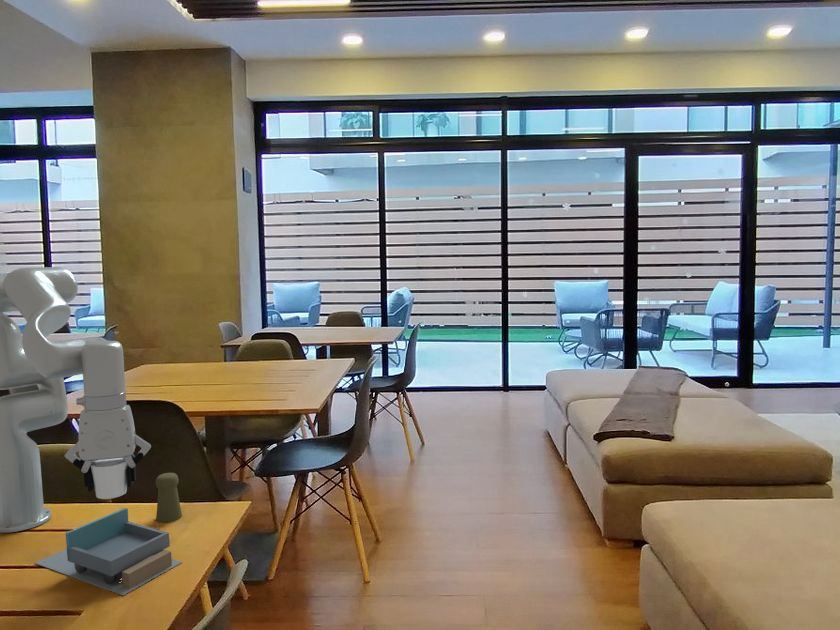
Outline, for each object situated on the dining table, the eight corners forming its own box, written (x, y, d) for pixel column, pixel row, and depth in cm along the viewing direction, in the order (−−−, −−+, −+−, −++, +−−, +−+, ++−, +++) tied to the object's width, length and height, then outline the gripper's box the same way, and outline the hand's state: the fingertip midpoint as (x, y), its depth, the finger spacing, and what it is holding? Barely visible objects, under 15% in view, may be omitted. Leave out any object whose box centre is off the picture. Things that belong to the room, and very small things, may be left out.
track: (35, 563, 130) (33, 549, 129) (96, 536, 142) (95, 523, 142) (123, 595, 117) (122, 579, 116) (182, 562, 129) (181, 548, 129)
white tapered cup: (114, 501, 123) (112, 467, 122) (84, 499, 124) (82, 465, 123) (137, 488, 129) (135, 456, 129) (108, 486, 131) (106, 454, 130)
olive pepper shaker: (176, 522, 149) (174, 478, 148) (151, 522, 149) (149, 478, 148) (186, 512, 155) (183, 469, 154) (162, 512, 155) (160, 470, 154)
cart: (68, 572, 125) (65, 532, 124) (127, 544, 137) (125, 507, 136) (112, 588, 118) (109, 546, 118) (170, 557, 130) (168, 519, 130)
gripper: (52, 410, 119) (58, 499, 120) (149, 402, 124) (154, 488, 126) (62, 401, 126) (68, 485, 128) (153, 394, 131) (158, 475, 133)
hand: (111, 486), depth 127 cm, fingers closed on white tapered cup, 6 cm apart
